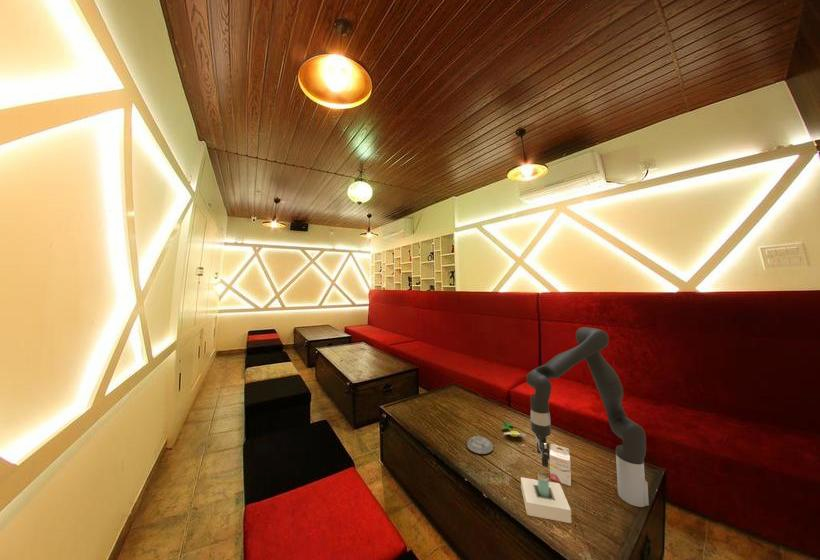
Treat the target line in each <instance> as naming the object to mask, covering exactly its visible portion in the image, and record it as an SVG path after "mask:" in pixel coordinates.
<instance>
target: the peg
mask: <svg viewBox="0 0 820 560" xmlns="http://www.w3.org/2000/svg"><path fill="white" fill-rule="evenodd" d="M549 479H550V477H549V475H548V474H547V473H545V472H542V471H540V472H538V473H537V480H538V492H539V496H540V497H546V498H549V482H550V481H549Z"/></svg>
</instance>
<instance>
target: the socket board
mask: <svg viewBox="0 0 820 560" xmlns="http://www.w3.org/2000/svg"><path fill="white" fill-rule="evenodd" d="M520 489H521V494H522V498H523V504H524V508H525V513H526V515H527V516H531V517H536V518H540V519H547V520H551V521H557V522H560V523H561V522H563V523H568V524H572V510H571V509H572V508H571V507H570V504H569V502H568V500H567V498H566V494H565V492H564V491H563V487H562V486H561V484H560V482H555V481H549V498H546V497H540V496H539V492H538V479H533V478H527V477H522V476H521V477H520Z"/></svg>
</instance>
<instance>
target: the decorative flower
mask: <svg viewBox="0 0 820 560" xmlns="http://www.w3.org/2000/svg"><path fill="white" fill-rule="evenodd" d="M500 420H501V421H502V422H503V423H504V424H505V425H503V426H501V428H502V429H504V430H506V429H509V430H510V431H507V432H503V435H505V436H506V435H509V436H511V437H514V438H515V437H516V438H517V437H519V436H520V437H521V438H523V437H527V435H526V434H524V433H520V432H518V431H517V430H512V428H511V427H515V425H514V424H512V423H507V422H506V421H505V420H504V419H503V417H501V419H500Z"/></svg>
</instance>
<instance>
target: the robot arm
mask: <svg viewBox="0 0 820 560" xmlns="http://www.w3.org/2000/svg"><path fill="white" fill-rule="evenodd" d="M575 339H576V343H577V344H578V345H577V346H575V347H572V348H570V349H568V350H566V351H563V352H560V353H558V354H556V355H554V357H551V359H550V360H549V361H547V362H546V363H545V364H542V365H540V366H538V367H535V368H533V369H532V370H530V371H529V372H528V373H527V375H526V378H525V379H526V383H527V385H528V386H530V387H531V388H533V389H534V390H535V391H534V392H535V393H533V394H532V395H531V396H530V401H529V402H530V428H531V431H532V433H534V439H535V443H536V452H537V453H538V454H540V456H541V465H542V467H545V468H548V467H549V460H550V444H549V440H548V438H547V437H549V436H550V435H551V433H552V430H551V429H552V427H551V425H552V424H551V414H550V405H549V401H550V397H551V394H552V382H551V380H550V379H559V378H561V377H562V376H563V375H564V374H565V373H566V372H568V371H569V370H570V369H571V368H573V367H575V366H576V365H577V364H579V363H581V362H582V361H584V360H586V363H587V366H588V368H589V370H590V373H591V375H592V378H593V381H594V384H595V386H596V388H597V391H598V393H599V395H600V398H601V402H602V403H603V406H604V409H605V412H606V416H607V419H608V423H609V426H610V429H611V431H612V432H613V434H614V435H616V436H617V437H618V438H619V439H621V440H622V444H619V445H617V446H616V447H615V460H616V461H615V463H616V465H615V467H616V483H617V495H618V496H619V498H620V499H622V500H623V501H624V502H626V503H627V504H629V505H631V506H634V507H639V508H643V507H649V505H650V504H649V503H650V501H649V485H648V481H647V480H646V478H645V477H646V476H645V460H644V459H645V457H646V453H647V436H646V431H645V430H644V428H643V427H642V426H641V425H639V424H638V423H636V422H635V421H633V420H632V419H630V418H629V417H628V416H627V413H626V412H625V410H624V407H623V403H622V401H623V398H624V388H623V385H622V382H621V380H620V377H619V375H618V374H617V372H616V370H615V369H614V368H613V367H612V366H611V365H610V363H608V361H607V360H606V359H605V358H604V356H603V355H602V352H601V351H602V350H604V349H605V348H606V347H607V346H608V345H609V341H610V338H609V335H608V333H607V332H606V331H605V330H604V329H603V330H602V329H599V328H595V327H585V326H584V327H579V328H578V329H577V330H576V331H575Z"/></svg>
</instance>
